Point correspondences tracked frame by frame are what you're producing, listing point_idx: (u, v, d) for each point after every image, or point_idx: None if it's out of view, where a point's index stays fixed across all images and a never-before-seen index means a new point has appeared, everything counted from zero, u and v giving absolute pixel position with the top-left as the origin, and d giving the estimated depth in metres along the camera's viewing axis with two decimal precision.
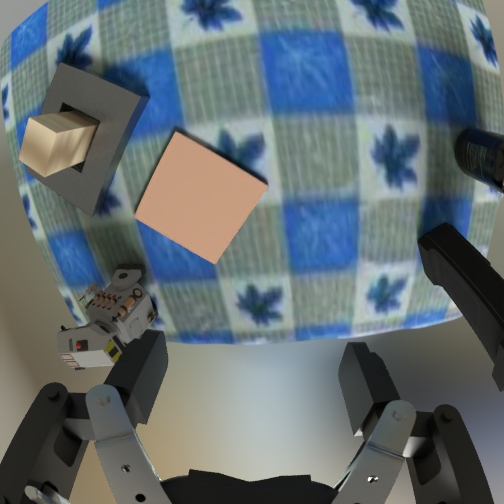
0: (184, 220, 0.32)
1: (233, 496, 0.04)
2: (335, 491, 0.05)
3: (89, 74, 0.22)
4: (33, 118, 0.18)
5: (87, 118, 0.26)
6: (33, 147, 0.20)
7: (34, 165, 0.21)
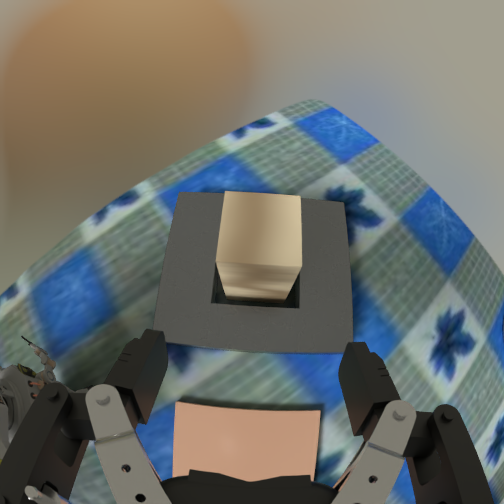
0: (210, 468, 0.17)
1: (233, 496, 0.04)
2: (335, 491, 0.05)
3: (348, 258, 0.23)
4: None
5: None
6: (257, 219, 0.17)
7: (228, 230, 0.17)
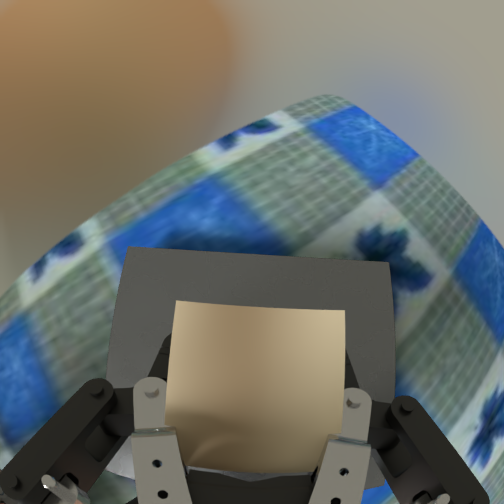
0: None
1: (233, 496, 0.04)
2: (308, 489, 0.05)
3: (393, 358, 0.13)
4: None
5: None
6: (249, 378, 0.07)
7: (183, 402, 0.07)
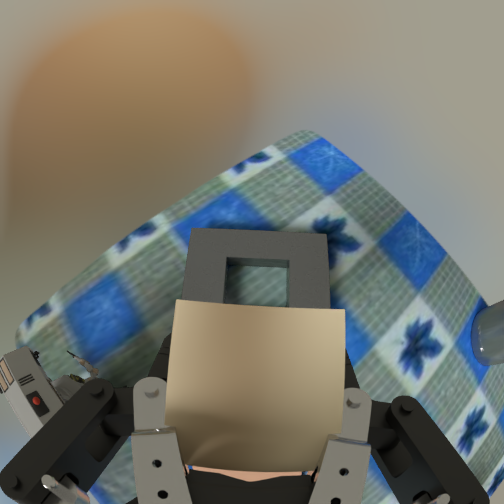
0: None
1: (233, 496, 0.04)
2: (308, 489, 0.05)
3: (328, 281, 0.30)
4: None
5: None
6: (248, 377, 0.07)
7: (183, 401, 0.07)
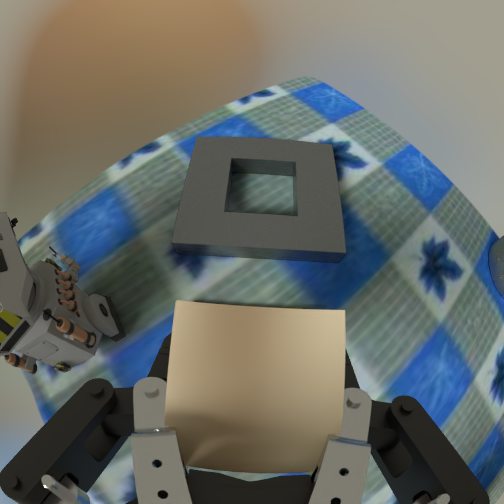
0: None
1: (233, 496, 0.04)
2: (308, 489, 0.05)
3: (337, 182, 0.28)
4: None
5: None
6: (249, 378, 0.07)
7: (183, 402, 0.07)
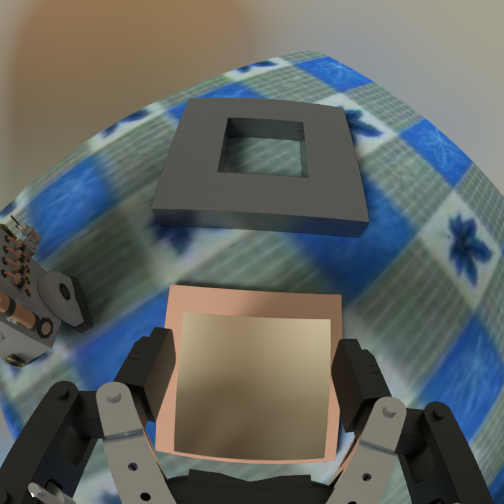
0: None
1: (233, 496, 0.04)
2: (329, 490, 0.05)
3: (352, 145, 0.22)
4: None
5: None
6: (247, 378, 0.08)
7: (191, 399, 0.08)
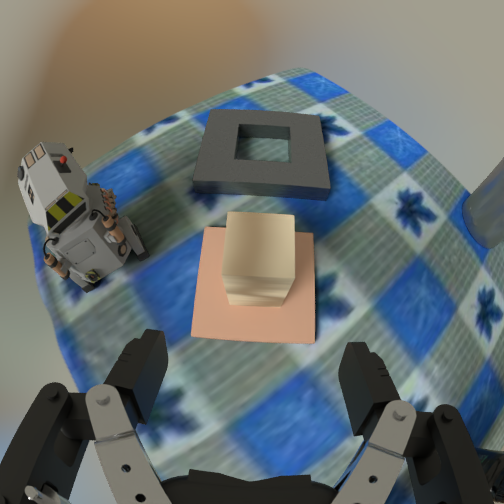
0: None
1: (233, 496, 0.04)
2: (335, 491, 0.05)
3: (322, 141, 0.34)
4: (293, 222, 0.21)
5: None
6: (256, 237, 0.20)
7: (231, 247, 0.19)
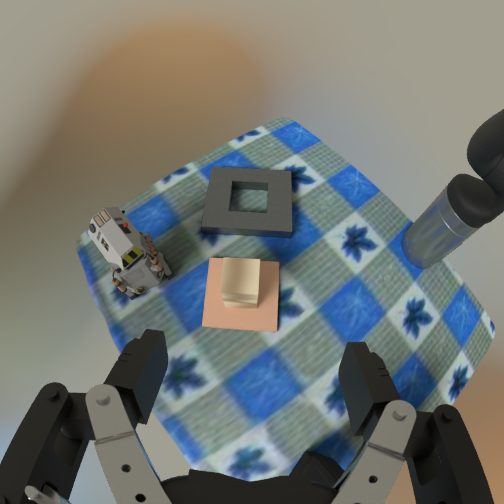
0: None
1: (233, 496, 0.04)
2: (335, 491, 0.05)
3: (291, 194, 0.51)
4: (259, 263, 0.38)
5: None
6: (239, 272, 0.37)
7: (225, 277, 0.37)
